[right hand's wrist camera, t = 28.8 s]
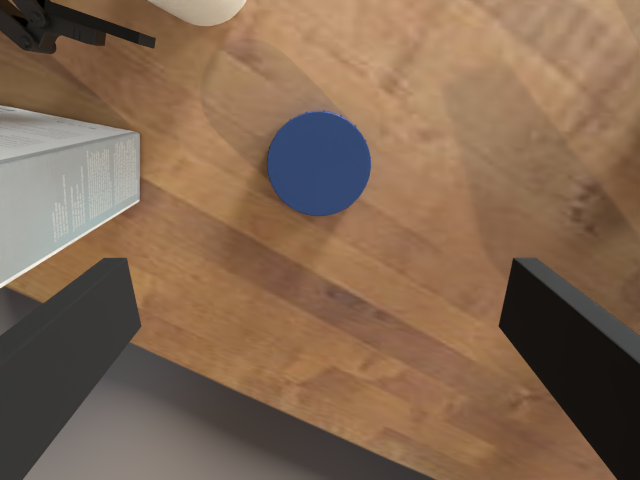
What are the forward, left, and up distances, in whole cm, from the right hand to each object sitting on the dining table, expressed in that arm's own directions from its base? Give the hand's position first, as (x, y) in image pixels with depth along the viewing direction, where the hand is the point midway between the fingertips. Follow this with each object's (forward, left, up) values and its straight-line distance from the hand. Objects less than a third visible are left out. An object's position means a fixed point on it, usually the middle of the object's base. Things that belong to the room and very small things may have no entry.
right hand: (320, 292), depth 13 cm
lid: (0, 0, -24) cm, 25 cm away
